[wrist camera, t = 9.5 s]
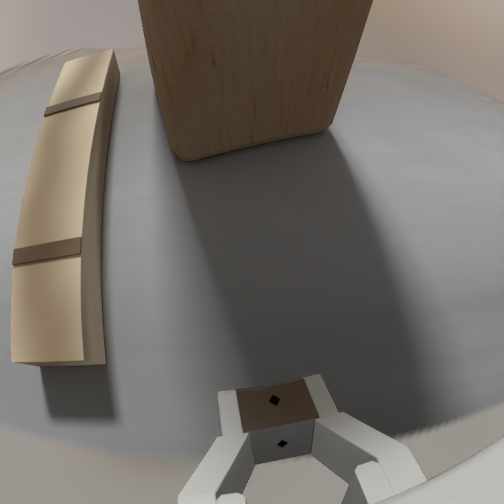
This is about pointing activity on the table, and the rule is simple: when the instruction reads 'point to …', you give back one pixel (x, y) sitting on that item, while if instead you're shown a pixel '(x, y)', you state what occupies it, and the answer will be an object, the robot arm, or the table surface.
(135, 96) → the table surface
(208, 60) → the wooden block
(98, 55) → the maple board
